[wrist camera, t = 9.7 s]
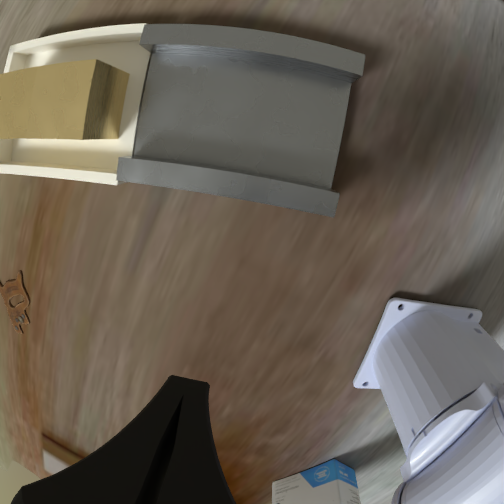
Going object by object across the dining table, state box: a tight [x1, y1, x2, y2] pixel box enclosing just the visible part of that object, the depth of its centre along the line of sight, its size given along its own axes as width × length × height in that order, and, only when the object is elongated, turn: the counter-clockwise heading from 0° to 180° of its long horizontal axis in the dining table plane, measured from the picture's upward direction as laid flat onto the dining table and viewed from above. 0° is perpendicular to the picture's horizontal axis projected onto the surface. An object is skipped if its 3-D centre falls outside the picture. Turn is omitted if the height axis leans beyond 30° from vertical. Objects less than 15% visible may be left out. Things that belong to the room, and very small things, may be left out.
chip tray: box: [0, 23, 152, 185], centre depth 14 cm, size 11×9×2 cm
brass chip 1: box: [0, 66, 38, 139], centre depth 13 cm, size 4×4×4 cm
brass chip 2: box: [26, 59, 130, 140], centre depth 13 cm, size 4×4×4 cm
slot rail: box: [116, 24, 365, 217], centre depth 14 cm, size 11×8×3 cm
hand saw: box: [0, 270, 30, 334], centre depth 24 cm, size 24×5×1 cm, turn 5°
